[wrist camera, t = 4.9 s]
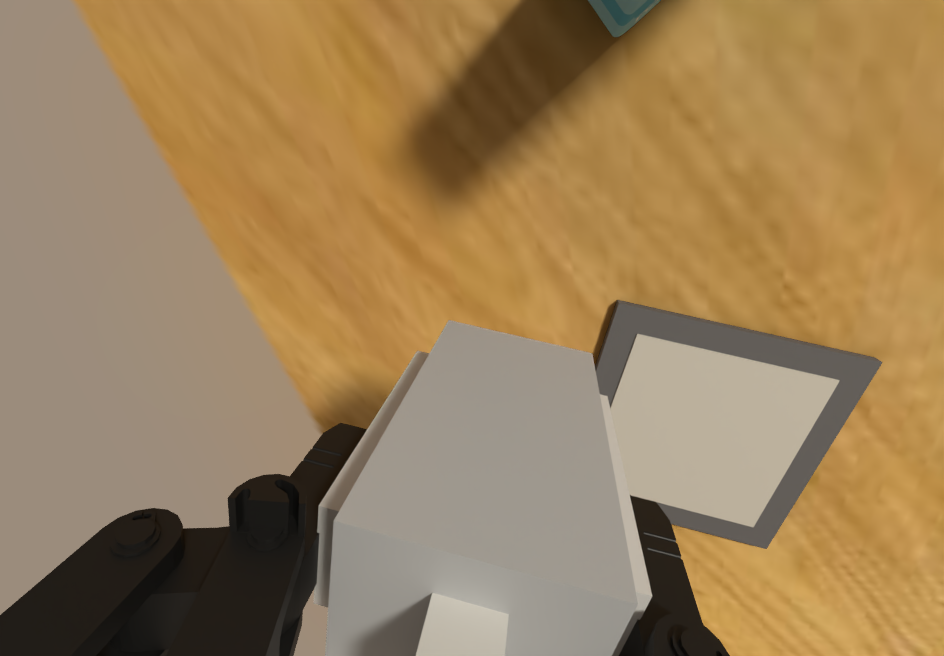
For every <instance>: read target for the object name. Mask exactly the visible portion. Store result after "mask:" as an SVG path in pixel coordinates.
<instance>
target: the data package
mask: <svg viewBox="0 0 944 656" xmlns="http://www.w3.org/2000/svg"><path fill="white" fill-rule="evenodd" d="M588 1H589V3H590V4H591V6H592V7H593V9H594V10H595V12H596V13H597V14H598V16H599V17H600V19H601V20H602V22H603V23H604V25H605V26H606V27H607V29H608V30H609V32H610V33H611V35H612V36H613V37H619V36H621V35H623V34H624V33H625V32H627V31H628V30H629V29H630V28H631V27H632V26H634V25H635V24H636V23H637V22H638V21H639V20H640V19H641V18H643V17H644V16H645V15H646V14H647V13H648V12H649V11H650V10H651V9H652V8H653V7H654V6H656V5H657V4H658V3H659V2H660V1H661V0H588Z"/></svg>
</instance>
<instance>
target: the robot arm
mask: <svg viewBox="0 0 944 656" xmlns="http://www.w3.org/2000/svg"><path fill="white" fill-rule="evenodd" d="M428 355H429V353H425V352H421V351H417V352H416V354H415V355H414V357H413V358H412V360H411V361H410V363H409V365H408V366H407V368H406V369H405V371H404V372H403V374H402V376H401V377H400V379H399V380H398V382H397V383H396V385H395V387H394V388H393V390H392V391H391V393H390V394H389V396H388V398H387V399H386V401H385V402H384V404H383V405H382V407H381V409H380V410H379V412H378V413H377V415H376V416H375V418H374V420H373V421H372V423H371V424H370V426H369V427H368V429H363V428H359V427H355V426H351V425H347V424H343V423H340V424H338V425H336V426H334V427H333V428H331V429H329V430H328V431H326V432H324V433H323V435H322V436H321V437H320V438H319V440H318V441H317V442H316V444H315V445H314V446H313V449H311V450H310V451H309V452H308V454H307V455H306V456H305V458H304V460H303V461H302V462H301V463H300V464H299V465H298V467H297V468H296V469H295V471H294V472H293V473H292V474H291V476H290V477H289V476H285V475H281V474H274V475H263V476H259V477H256V478H253V479H250V480H248V481H246V482H245V483H243V484H242V485H240V486H238V487H237V488H236V489H235V490H234V491H233V492H232V494H231V495H230V496H229V497H228V508H229V525H230V526H229V527H219V528H189V529H183V526H182V523H181V521H180V519H179V517H178V515H176V514H174V513H172V512H170V511H169V510H165V509H156V508H151V509H145V510H138V511H134V512H132V513H129V514H127V515H124V516H122V517H119V518H117V519H116V520H114V521H113V522H111V523H110V524H108V525H107V526H105V527H104V528H102V529H101V530H100V531H99V532H98V533H97V534H95V535H94V536H93V537H92V538H91V539H90V540H88V541H87V542H86V543H85V544H84V545H83V546H81V547H80V548H79V549H78V550H76V551H75V552H74V553H73V554H72V555H71V556H69V557H68V558H67V559H66V560H65V561H64V562H62V563H61V564H60V565H59V566H58V567H56V568H55V569H54V570H53V571H52V572H51V573H50V574H48V575H47V576H46V577H45V578H44V579H42V580H41V581H40V582H39V583H38V584H36V585H35V586H34V587H33V588H32V589H31V590H30V591H28V592H27V593H26V594H25V595H23V596H22V597H21V598H20V599H19V600H18V601H16V602H15V603H14V604H13V605H12V606H11V607H9V608H8V609H7V610H6V611H5V612H3V613H2V614H1V615H0V656H293V655H294V651H295V648H296V644H297V640H298V637H299V633H300V629H301V626H302V614H303V613H302V612H303V608H304V607H305V605H306V602H307V601H308V599H309V597H310V595H311V593H312V591H313V590H314V604H318V605H321V606H325V607H328V604H329V588H330V572H331V556H332V540H333V524H334V519H335V517H336V516H337V514H338V512H339V510H340V509H341V507H342V505H343V504H344V502H345V500H346V498H347V497H348V495H349V493H350V491H351V490H352V488H353V486H354V484H355V483H356V481H357V479H358V477H359V476H360V474H361V472H362V470H363V469H364V467H365V465H366V463H367V462H368V460H369V458H370V456H371V455H372V453H373V451H374V450H375V448H376V446H377V444H378V443H379V441H380V439H381V437H382V436H383V434H384V432H385V430H386V429H387V427H388V425H389V423H390V422H391V420H392V418H393V416H394V415H395V413H396V411H397V409H398V408H399V406H400V404H401V402H402V401H403V399H404V397H405V395H406V394H407V392H408V390H409V389H410V387H411V385H412V383H413V382H414V380H415V378H416V376H417V375H418V373H419V371H420V369H421V368H422V366H423V364H424V362H425V361H426V359H427V357H428ZM600 398H601V404H602V409H603V415H604V420H605V426H606V431H607V437H608V442H609V448H610V453H611V459H612V464H613V470H614V475H615V480H616V486H617V491H618V497H619V502H620V508H621V513H622V519H623V524H624V530H625V535H626V541H627V546H628V552H629V557H630V563H631V568H632V574H633V579H634V585H635V590H636V596H637V601H638V605H637V607H636V609H635V611H634V613H633V615H632V617H631V619H630V621H629V623H628V625H627V627H626V629H625V631H624V633H623V635H622V637H621V639H620V641H619V642H618V644H617V646H616V648H615V650H614V652H613V654H612V656H730V655H729V654H728V652H727V651H726V649H725V648H724V646H723V645H722V643H721V642H720V640H719V639H718V638H717V637H716V636H715V635H714V634H713V633H712V632H711V631H710V630H709V629H708V628H707V627H705V626H704V625H703V623H702V620H701V617H700V614H699V611H698V608H697V605H696V601H695V598H694V595H693V592H692V589H691V586H690V582H689V579H688V576H687V573H686V570H685V567H684V563H683V560H682V559H681V554H680V551H679V548H678V544H677V543H676V538H675V535H674V532H673V529H672V525H671V522H670V520H669V519H668V517H667V516H666V514H665V513H664V512H663V510H662V509H661V508H660V506H659V505H658V504H657V502H655V501H651V500H647V499H643V498H639V497H635V496H631V495H630V494H629V490H628V485H627V481H626V477H625V472H624V468H623V463H622V459H621V454H620V450H619V445H618V441H617V436H616V432H615V427H614V423H613V419H612V414H611V410H610V405H609V401H608V396H605V395H601V394H600Z"/></svg>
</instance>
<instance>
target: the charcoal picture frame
mask: <svg viewBox="0 0 944 656" xmlns="http://www.w3.org/2000/svg"><path fill="white" fill-rule="evenodd" d="M881 364H882V362H881V361H879V360H878V359H876V358H874V357H870V356H865V355H861V354H857V353H852V352H848V351H843V350H839V349H834V348H830V347H825V346H821V345H816V344H812V343H807V342H803V341H799V340H794V339H790V338H785V337H781V336H776V335H772V334H767V333H763V332H758V331H754V330H750V329H745V328H741V327H736V326H732V325H727V324H723V323H718V322H714V321H709V320H705V319H700V318H696V317H692V316H687V315H683V314H678V313H674V312H669V311H665V310H660V309H656V308H651V307H647V306H642V305H638V304H634V303H629V302H625V301H620V300H617V303H616V306H615V309H614V312H613V315H612V318H611V321H610V324H609V327H608V330H607V333H606V336H605V339H604V342H603V345H602V348H601V351H600V354H599V357H598V360H597V363H596V366H595V371H596V376H597V382H598V387H599V393H600V394H601V395H605V396H608V401H609V405H610V410H611V414H612V419H613V423H614V427H615V432H616V436H617V441H618V445H619V450H620V454H621V459H622V463H623V468H624V472H625V477H626V481H627V485H628V490H629V494H630V495H631V496H635V497H639V498H643V499H647V500H651V501H655V502H657V504H658V505H659V506H660V508H661V509H662V510H663V512H664V513H665V514H666V516H667V517H668V519H669V520H670V522H671V524H674V525H677V526H681V527H685V528H689V529H693V530H696V531H700V532H704V533H708V534H711V535H715V536H719V537H723V538H727V539H730V540H734V541H738V542H742V543H745V544H749V545H753V546H757V547H761V548H764V549H767V547H768V546H769V544H770V542H771V541H772V539H773V538H774V536H775V534H776V533H777V531H778V530H779V528H780V526H781V525H782V523H783V522H784V520H785V518H786V517H787V515H788V513H789V512H790V510H791V509H792V507H793V505H794V504H795V502H796V501H797V499H798V497H799V496H800V494H801V493H802V491H803V489H804V488H805V486H806V485H807V483H808V481H809V480H810V478H811V476H812V475H813V473H814V472H815V470H816V468H817V467H818V465H819V464H820V462H821V460H822V459H823V457H824V456H825V454H826V452H827V451H828V449H829V448H830V446H831V444H832V443H833V441H834V439H835V438H836V436H837V435H838V433H839V431H840V430H841V428H842V427H843V425H844V423H845V422H846V420H847V419H848V417H849V415H850V414H851V412H852V411H853V409H854V407H855V406H856V404H857V402H858V401H859V399H860V398H861V396H862V394H863V393H864V391H865V390H866V388H867V386H868V385H869V383H870V382H871V380H872V378H873V377H874V375H875V374H876V372H877V370H878V369H879V367H880V365H881Z"/></svg>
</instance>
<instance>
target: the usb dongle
mask: <svg viewBox="0 0 944 656" xmlns="http://www.w3.org/2000/svg"><path fill="white" fill-rule="evenodd" d="M637 605H638V601H637V596H636V590H635V585H634V579H633V574H632V568H631V563H630V557H629V552H628V546H627V541H626V535H625V530H624V524H623V519H622V513H621V508H620V502H619V497H618V491H617V486H616V480H615V475H614V470H613V464H612V459H611V453H610V448H609V442H608V437H607V431H606V426H605V420H604V415H603V409H602V404H601V398H600V393H599V387H598V382H597V376H596V371H595V365H594V360H593V354H592V353H589V352H584V351H580V350H576V349H571V348H567V347H563V346H559V345H554V344H550V343H546V342H541V341H537V340H533V339H528V338H524V337H520V336H515V335H511V334H507V333H502V332H498V331H494V330H489V329H485V328H481V327H476V326H472V325H468V324H463V323H459V322H455V321H451V320H449V321H448V322H447V324H446V326H445V328H444V329H443V331H442V333H441V335H440V336H439V338H438V340H437V341H436V343H435V345H434V347H433V348H432V350H431V352H430V354H429V355H428V357H427V359H426V361H425V362H424V364H423V366H422V368H421V369H420V371H419V373H418V375H417V376H416V378H415V380H414V382H413V383H412V385H411V387H410V389H409V390H408V392H407V394H406V395H405V397H404V399H403V401H402V402H401V404H400V406H399V408H398V409H397V411H396V413H395V415H394V416H393V418H392V420H391V422H390V423H389V425H388V427H387V429H386V430H385V432H384V434H383V436H382V437H381V439H380V441H379V443H378V444H377V446H376V448H375V450H374V451H373V453H372V455H371V456H370V458H369V460H368V462H367V463H366V465H365V467H364V469H363V470H362V472H361V474H360V476H359V477H358V479H357V481H356V483H355V484H354V486H353V488H352V490H351V491H350V493H349V495H348V497H347V498H346V500H345V502H344V504H343V505H342V507H341V509H340V510H339V512H338V514H337V516H336V517H335V519H334V524H333V540H332V556H331V572H330V588H329V604H328V621H327V637H326V654H325V656H612V654H613V652H614V650H615V648H616V646H617V644H618V642H619V641H620V639H621V637H622V635H623V633H624V631H625V629H626V627H627V625H628V623H629V621H630V619H631V617H632V615H633V613H634V611H635V609H636V607H637Z"/></svg>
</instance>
